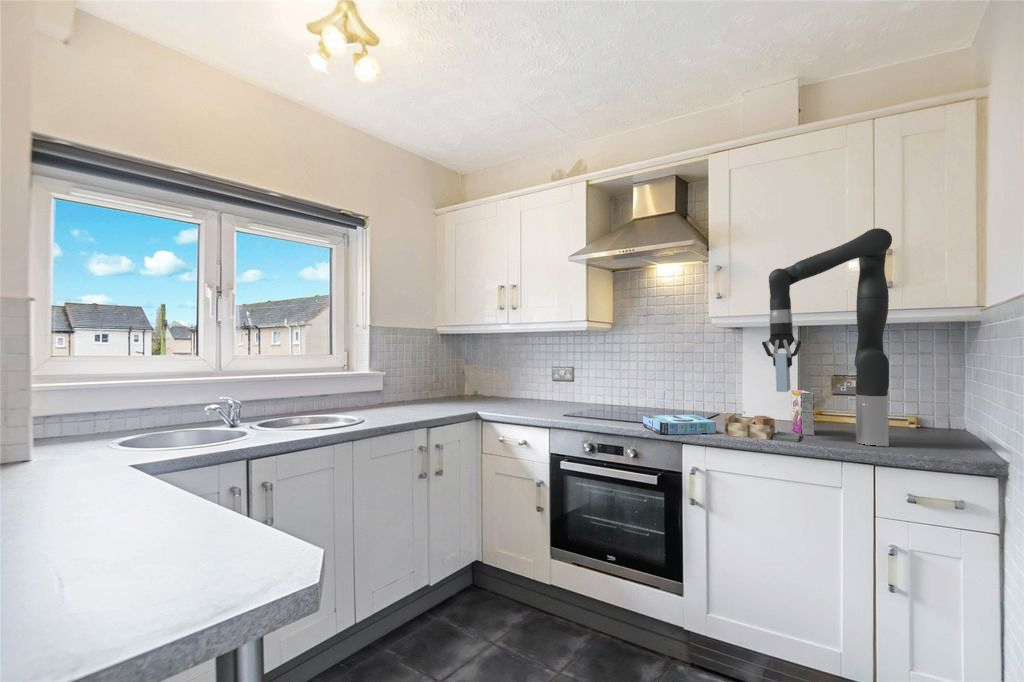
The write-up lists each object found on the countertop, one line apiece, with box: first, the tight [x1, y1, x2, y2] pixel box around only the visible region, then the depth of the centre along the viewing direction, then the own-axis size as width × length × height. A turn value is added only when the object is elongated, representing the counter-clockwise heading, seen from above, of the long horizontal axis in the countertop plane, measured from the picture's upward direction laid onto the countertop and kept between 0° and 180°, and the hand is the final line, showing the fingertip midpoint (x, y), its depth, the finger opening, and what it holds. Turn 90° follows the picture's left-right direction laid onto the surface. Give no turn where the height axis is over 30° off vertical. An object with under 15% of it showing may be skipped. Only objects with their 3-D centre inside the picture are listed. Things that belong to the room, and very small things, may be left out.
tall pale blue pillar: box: [775, 352, 791, 393], centre depth 189 cm, size 4×11×14 cm, turn 146°
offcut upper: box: [753, 415, 775, 428], centre depth 193 cm, size 4×8×4 cm, turn 176°
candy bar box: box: [790, 389, 815, 436], centre depth 199 cm, size 11×5×16 cm, turn 168°
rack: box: [724, 412, 776, 441], centre depth 196 cm, size 16×15×7 cm
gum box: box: [642, 414, 717, 435], centre depth 207 cm, size 20×5×23 cm
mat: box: [772, 431, 802, 443], centre depth 189 cm, size 8×14×1 cm, turn 146°
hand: (782, 367), depth 189 cm, fingers closed on tall pale blue pillar, 3 cm apart
